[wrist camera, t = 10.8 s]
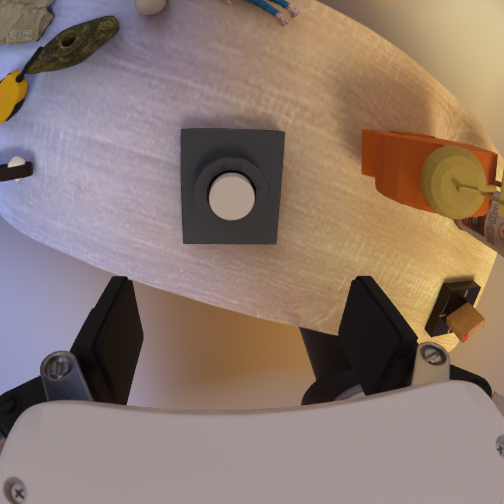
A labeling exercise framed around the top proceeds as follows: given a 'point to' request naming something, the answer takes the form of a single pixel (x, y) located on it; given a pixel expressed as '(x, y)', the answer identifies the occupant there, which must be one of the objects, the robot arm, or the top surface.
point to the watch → (15, 169)
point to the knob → (465, 321)
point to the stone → (23, 20)
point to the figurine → (267, 7)
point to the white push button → (231, 196)
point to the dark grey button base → (230, 161)
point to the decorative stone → (74, 45)
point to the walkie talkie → (14, 90)
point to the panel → (450, 305)
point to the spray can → (486, 227)
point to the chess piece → (149, 6)
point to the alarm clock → (432, 173)
